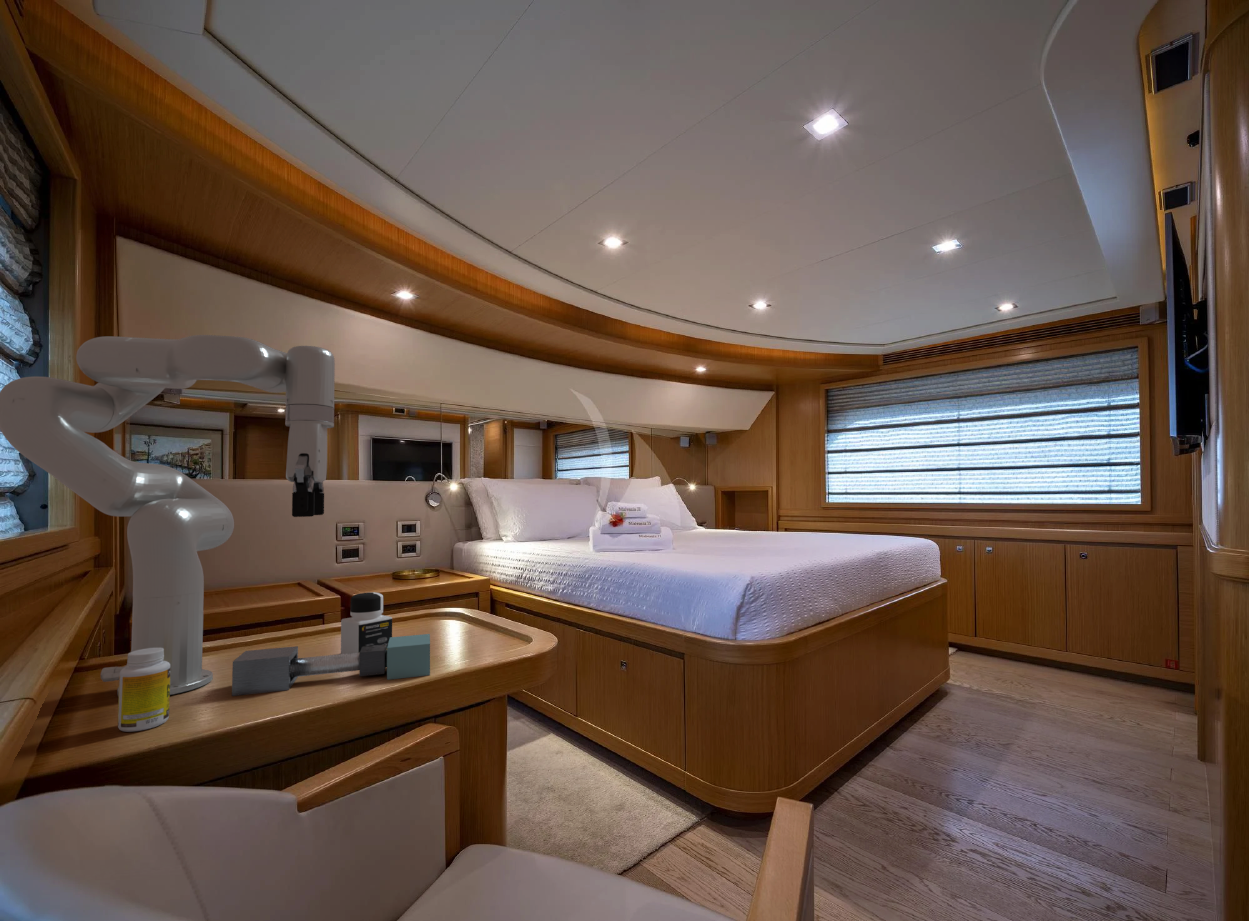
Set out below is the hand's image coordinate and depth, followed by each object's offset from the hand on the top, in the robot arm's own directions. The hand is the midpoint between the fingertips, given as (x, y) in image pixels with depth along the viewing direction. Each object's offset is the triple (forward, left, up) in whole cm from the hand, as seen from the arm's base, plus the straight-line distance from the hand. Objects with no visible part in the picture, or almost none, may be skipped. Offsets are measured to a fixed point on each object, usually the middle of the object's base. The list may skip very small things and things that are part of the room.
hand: (308, 515), depth 101 cm
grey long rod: (+5, 0, -28) cm, 28 cm away
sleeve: (-6, 0, -28) cm, 29 cm away
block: (+17, 0, -28) cm, 33 cm away
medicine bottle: (+8, +16, -28) cm, 34 cm away
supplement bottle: (-18, -13, -28) cm, 36 cm away
